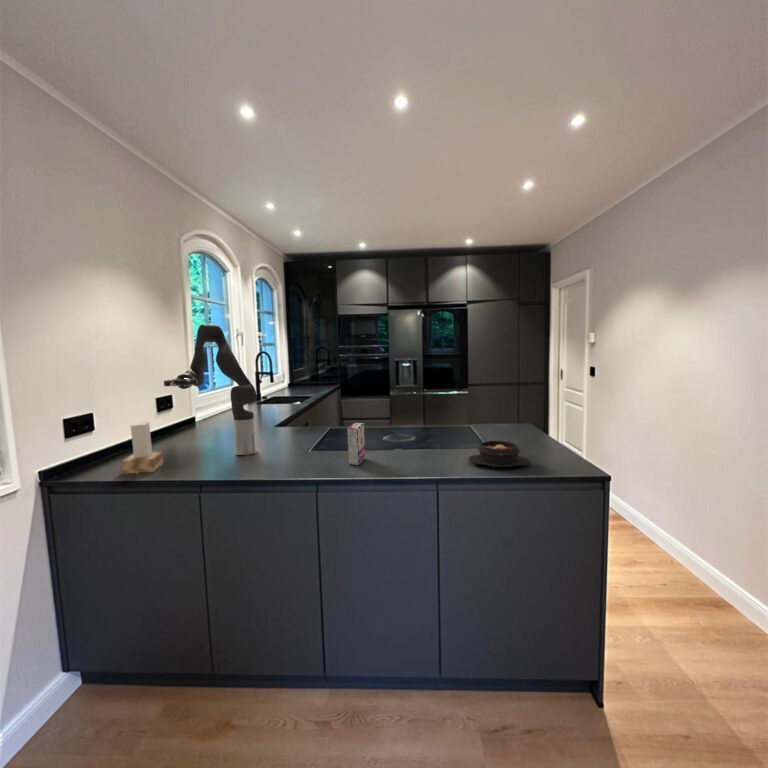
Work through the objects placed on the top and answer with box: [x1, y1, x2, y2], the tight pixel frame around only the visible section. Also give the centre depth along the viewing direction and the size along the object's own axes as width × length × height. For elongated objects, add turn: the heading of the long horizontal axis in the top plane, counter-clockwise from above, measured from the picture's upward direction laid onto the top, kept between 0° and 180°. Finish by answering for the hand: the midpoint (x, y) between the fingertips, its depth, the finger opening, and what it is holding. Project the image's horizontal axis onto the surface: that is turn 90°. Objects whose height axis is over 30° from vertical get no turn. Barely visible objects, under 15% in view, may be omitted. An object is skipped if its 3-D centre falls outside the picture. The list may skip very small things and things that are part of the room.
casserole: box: [467, 440, 531, 468], centre depth 168 cm, size 25×19×8 cm
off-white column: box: [130, 422, 153, 458], centre depth 173 cm, size 6×6×14 cm
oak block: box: [120, 451, 164, 475], centre depth 174 cm, size 12×12×6 cm
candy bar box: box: [346, 422, 366, 464], centre depth 176 cm, size 11×5×16 cm, turn 168°
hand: (177, 383), depth 191 cm, fingers open, 8 cm apart
